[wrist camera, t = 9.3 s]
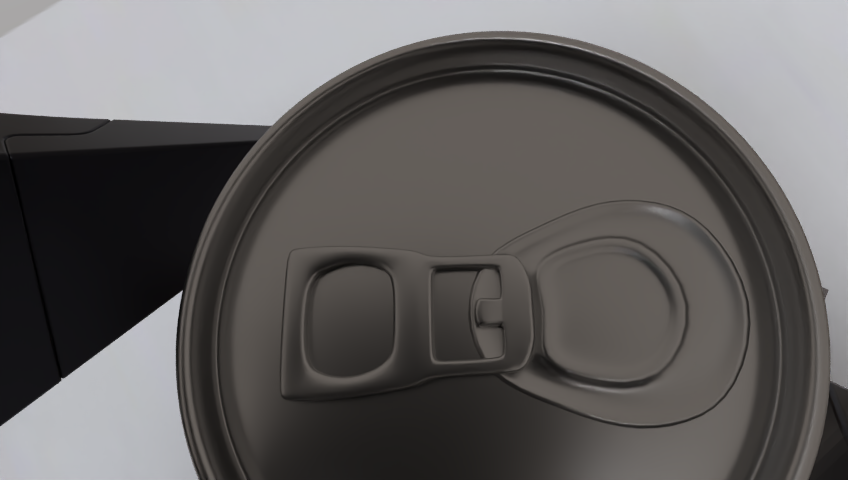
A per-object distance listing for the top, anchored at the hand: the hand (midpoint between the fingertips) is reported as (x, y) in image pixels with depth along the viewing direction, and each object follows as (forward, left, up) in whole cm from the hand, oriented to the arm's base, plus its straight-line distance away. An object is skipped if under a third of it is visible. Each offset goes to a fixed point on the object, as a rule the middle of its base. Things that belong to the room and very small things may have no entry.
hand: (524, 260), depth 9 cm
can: (-1, +1, -8) cm, 8 cm away
